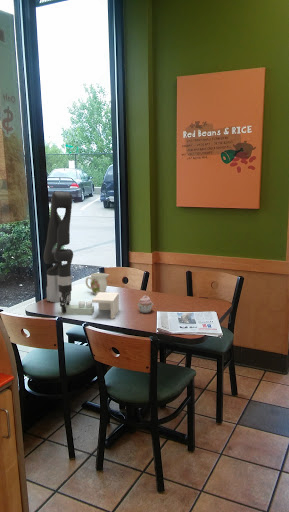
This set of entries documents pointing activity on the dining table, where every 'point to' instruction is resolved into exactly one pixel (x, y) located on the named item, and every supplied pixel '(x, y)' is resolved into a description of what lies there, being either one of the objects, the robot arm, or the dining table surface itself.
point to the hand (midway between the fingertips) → (65, 311)
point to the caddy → (80, 308)
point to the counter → (107, 302)
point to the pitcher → (97, 282)
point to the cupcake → (145, 304)
